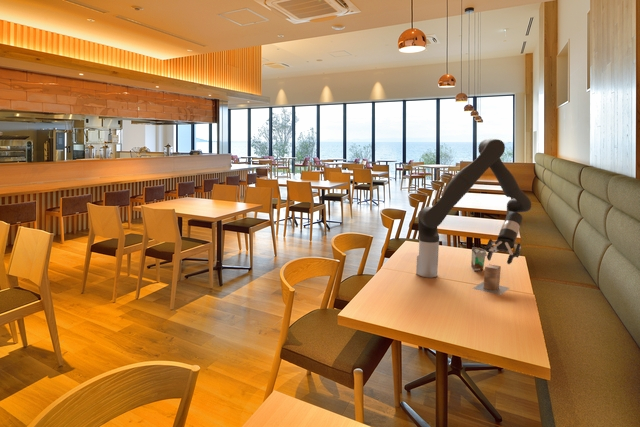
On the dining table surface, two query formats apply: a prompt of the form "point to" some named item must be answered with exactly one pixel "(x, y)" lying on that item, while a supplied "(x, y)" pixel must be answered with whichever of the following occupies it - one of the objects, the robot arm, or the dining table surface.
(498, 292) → the tile
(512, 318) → the dining table surface
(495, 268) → the walnut block
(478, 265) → the food container
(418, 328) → the dining table surface
